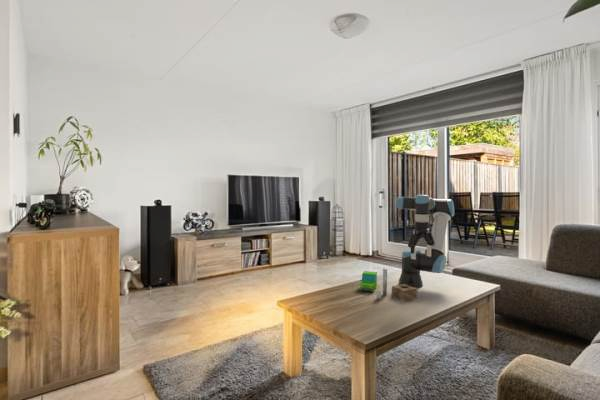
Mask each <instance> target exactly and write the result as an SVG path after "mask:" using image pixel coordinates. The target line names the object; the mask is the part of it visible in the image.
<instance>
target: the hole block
mask: <svg viewBox="0 0 600 400" xmlns="http://www.w3.org/2000/svg"><path fill="white" fill-rule="evenodd" d="M391 297H394V298H396V299H398V300H400V301H403V302H406V301H411V300H416V299H417V298H418V288H414V287H412V286H409V285H406V284H401V285H400V284H395V285H392V286H391Z"/></svg>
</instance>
